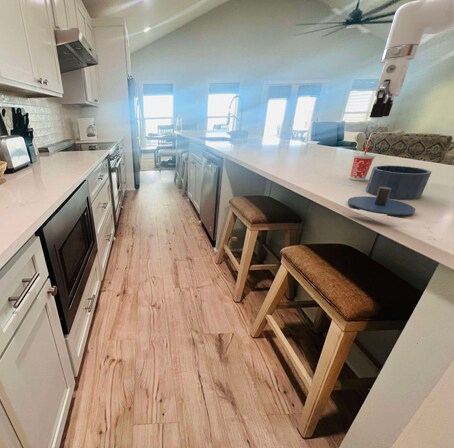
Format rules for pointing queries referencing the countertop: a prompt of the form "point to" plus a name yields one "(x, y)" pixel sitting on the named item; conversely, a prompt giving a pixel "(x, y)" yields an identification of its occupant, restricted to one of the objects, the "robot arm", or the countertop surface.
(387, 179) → the pot
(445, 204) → the countertop surface
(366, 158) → the beverage cup
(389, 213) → the pot lid
